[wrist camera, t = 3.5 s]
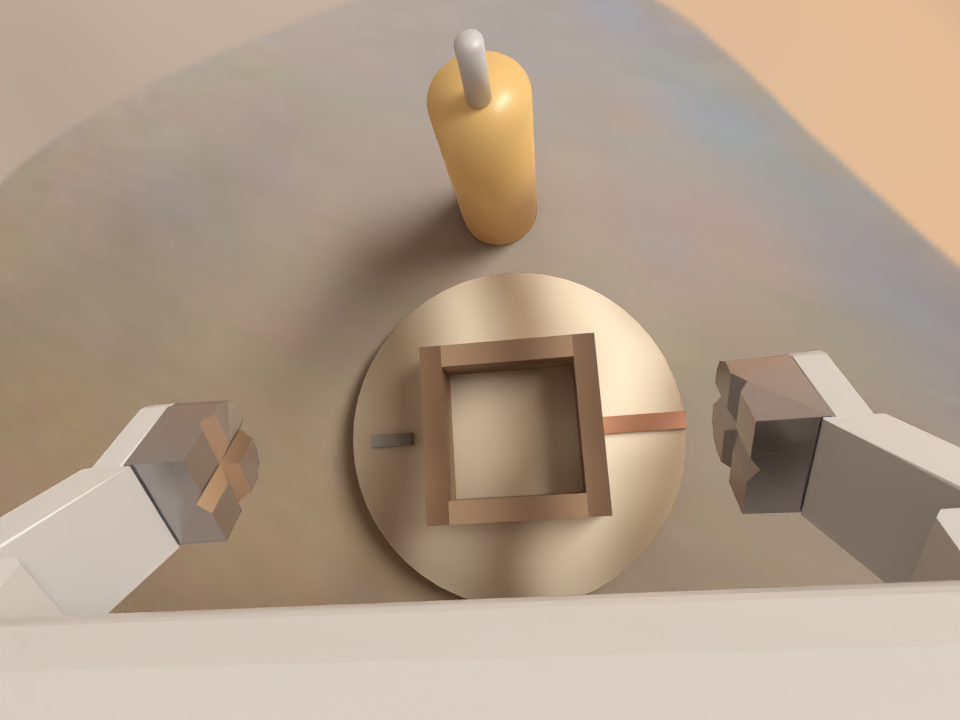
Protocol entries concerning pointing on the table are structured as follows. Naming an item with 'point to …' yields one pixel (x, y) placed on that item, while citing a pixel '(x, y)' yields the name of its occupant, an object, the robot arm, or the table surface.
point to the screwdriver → (486, 139)
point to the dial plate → (519, 438)
